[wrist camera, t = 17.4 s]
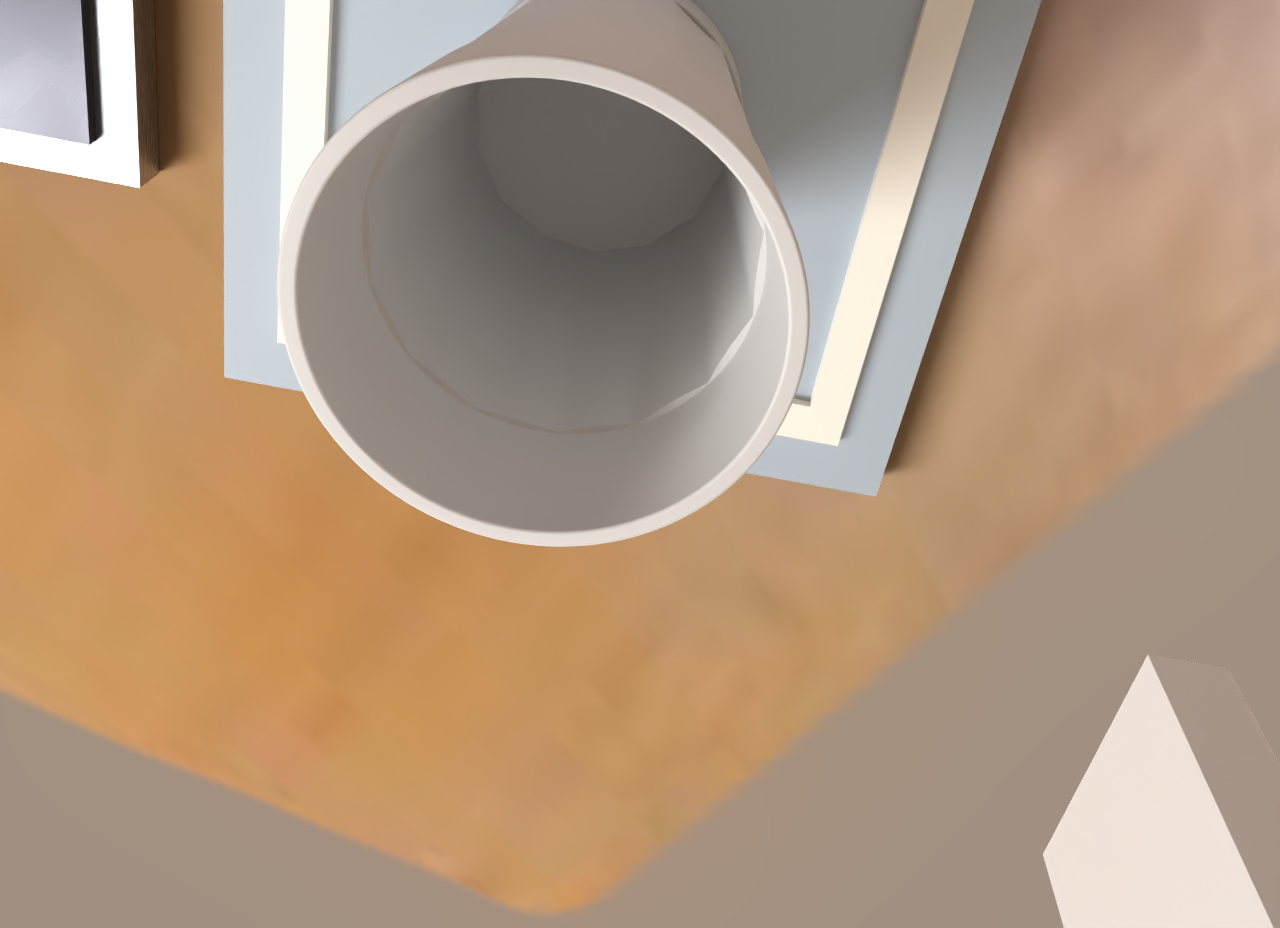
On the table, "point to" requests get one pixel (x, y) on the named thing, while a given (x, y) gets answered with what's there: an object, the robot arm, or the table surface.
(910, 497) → the table surface
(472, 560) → the table surface
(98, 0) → the ink pad
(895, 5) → the board
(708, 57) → the cup
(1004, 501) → the table surface
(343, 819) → the table surface
